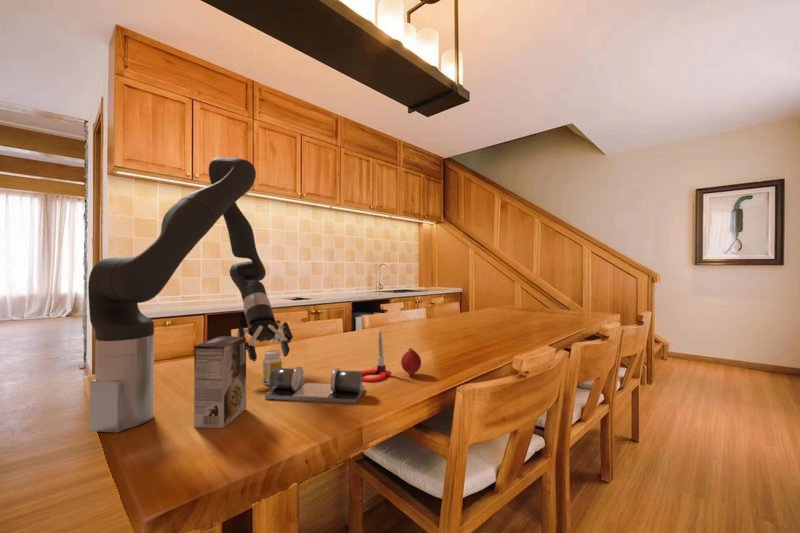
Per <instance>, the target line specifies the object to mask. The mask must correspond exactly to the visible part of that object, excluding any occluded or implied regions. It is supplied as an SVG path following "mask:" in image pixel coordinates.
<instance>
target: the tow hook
mask: <svg viewBox="0 0 800 533" xmlns="http://www.w3.org/2000/svg"><path fill="white" fill-rule="evenodd" d="M382 336H383V335H382V330H379V331H378V338H377V339H378V358H377V359H378V360H377V361H378V364H377V366H376V367H375V366H374V367H372V368H371V369H366V370H362V375H363V382H364V383H376V382H380V381H383V380H384V379H386V377H391V375H392V371H389V370H387V368H386V366H387V365H385V357H384V349H383V348H384V346H383V345H384V344H383V337H382ZM370 374H371V375H372V374H373V375H375V374H379V375H378V376H375V377H364V376H365V375H370Z"/></svg>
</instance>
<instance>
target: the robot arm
mask: <svg viewBox="0 0 800 533" xmlns="http://www.w3.org/2000/svg"><path fill="white" fill-rule="evenodd" d="M256 172H257V171H256V168H255V166H254V165H253V163H252V162H251V161H249V160H247V159H244V158H239V157H223V156H221V157H218V156H217V157H215V158H213V159H212V160H211V161H210V162H209V165H208V176H209V178H208V179H209V181H210V185H208V186H206V187H202V188H200V189H198V190H194V191H192V192H190V193H188V194H186V195H185V196H183V197H181V198H180V199H179V200H178V201H177V202H175V204H173V206H171V207H170V208H169V209H168V211H166V212H165V214H164V216H163V218H162V222H161V228H160V234H159V235H158V237H157V239H156V240H154V242H153V243H152V244H150V245H149V246H148V247H147V248H146V249H145V250H143V251H142V252H141V253H140V254H138V255H136V256H123V257H122V256H115V257H113V256H111V257H107V258H103V259H101V260H100V261H98V262H97V263H95V264H94V266H93V267H92V269H91V271H90V274H89V277H88V282H87V283H88V285H87V288H88V289H87V291H88V294H87V295H88V308H89V312H88V313H89V320H90V321H89V322H90V324H91V326H92V328H93V330H94V334H95V350H94V351H95V360H94V363H95V364H94V365H95V366H94V367H95V368H94V371H95V372H94V379H92V380H90V382H89V418H88V419H89V422H88V423H89V427H88V428H89V429H88V431H89V432H102V433H103V432H104V433H116V434H117V433H120V432H122V431H124V430H129V429H132V428H135V427H138V426H141V425H143V424H145V423H147V422H149V421H150V420H152V419H153V418H154V412H155V411H154V408H155V406H154V401H155V400H154V396H155V395H154V394H155V393H154V390H155V389H154V387H155V386H154V385H155V384H154V383H155V379H154V378H155V373H154V371H155V370H154V369H155V362H154V361H155V351H154V350H155V323H154V321H153V319H151V318H149V317H148V316H146V315H144V313H142V312H141V310H140V309H139V304H142V303H145V302H149V301H151V300H153V299H154V298H156V296H158V295H159V294H161V292H162V290H163V289H164V288H165V286H166V285H167V284H168V282H169V281H170V279H171V278H172V276H173V275H174V273H175V272H176V271H177V270H178V268H179V266H180V265H181V263H182V262H183V261H184V259H185V258H186V257H187V255H189V254H190V253H191V251H192V250H193V249H194V248H195V247H196V245H198V243H199V242H200V241H201V240H202V238H203V237H204V236H206V235H207V233H208V232H210V230H211V229H212V228H213V226H214V225H215V224H216V223H217V222H218V220H219V219H221V217H223V219H224V222H225V225H226V229H227V232H228V239H229V243H230V250H231V253H232V255H233V256H234V257H236V258H239V259H248V261H242V262H236V263H234V264H232V265H231V266H230V269H229V276H230V278H231V280H232V282H233V283H234V285H235V286H236V288H237V289H238V290H239V293H240V295H241V298H242V303H243V310H244V311H243V313H244V315H245V319H246V324H247V327H245V328H244V327H243V326H239V327H238V329H237V333H236V337H247V336H246V335H247V334H248V335H250V337H251V338H250V340H249V341H248V342H247V341H246V352H247V353H248V358H249V360H250V361H252V362H256V361H257V358H258V357H257V352H256V347H255V345H256V343H257V342H264V341H267V342H268V341H273V342H275V343H278V344H279V345H280V347H281V351H282V355H283V357H288V355H289V353H290V346H289V344H291V342H292V339H293V338H294V336H293V334H292V331H291V329H290V327H289V324H288V322H286V321H284V322H283V324H282V323H281V324H277V322H276V318H275V315H274V312H273V308H272V304H271V302H270V299H269V297H268V295H267V292H266V291H267V290H266V288H265V285H264V284H263V282H261V281H263V280H264V279H265V277H266V268H265V266H264V264H263V261H262V260H261V258H260V255H259V254H258V251H257V246H256V242H255V234H254V230H253V227H252V225H251V223H250V222H249V220H248V219H247V217H246V216H245V215H244V213H243V212H242V210H241V209H240V207H239V206H238V204H237V201H238V200H239V199H241V197H243V196H245V194H247V193H248V192H249V191H250V190H251V189H252V187H253V185H254V183H255V180H256V178H257V177H256V175H257V174H256Z"/></svg>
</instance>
